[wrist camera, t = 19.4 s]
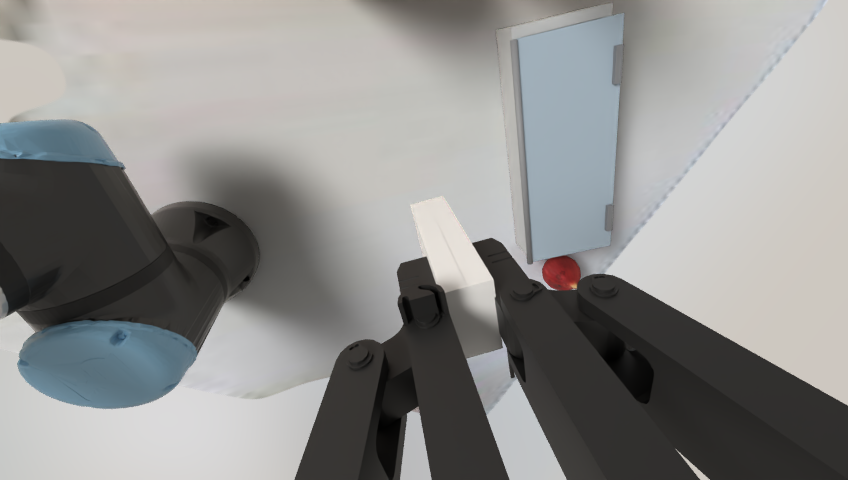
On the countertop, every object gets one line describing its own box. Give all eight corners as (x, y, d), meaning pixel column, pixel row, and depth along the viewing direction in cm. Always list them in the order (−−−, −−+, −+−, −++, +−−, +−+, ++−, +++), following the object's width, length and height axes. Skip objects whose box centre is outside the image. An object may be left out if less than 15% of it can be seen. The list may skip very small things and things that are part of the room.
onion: (537, 279, 63) (559, 307, 56) (532, 253, 60) (555, 279, 53) (567, 268, 63) (593, 295, 56) (564, 242, 60) (591, 267, 53)
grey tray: (516, 243, 58) (528, 258, 54) (495, 30, 43) (511, 27, 39) (584, 224, 59) (602, 238, 55) (587, 7, 44) (613, 2, 39)
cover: (528, 265, 53) (612, 247, 52) (511, 40, 38) (627, 12, 37) (525, 260, 54) (607, 242, 53) (507, 40, 39) (620, 13, 39)
